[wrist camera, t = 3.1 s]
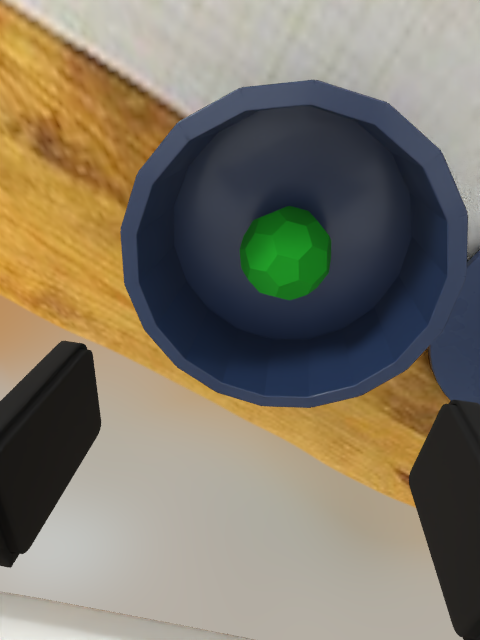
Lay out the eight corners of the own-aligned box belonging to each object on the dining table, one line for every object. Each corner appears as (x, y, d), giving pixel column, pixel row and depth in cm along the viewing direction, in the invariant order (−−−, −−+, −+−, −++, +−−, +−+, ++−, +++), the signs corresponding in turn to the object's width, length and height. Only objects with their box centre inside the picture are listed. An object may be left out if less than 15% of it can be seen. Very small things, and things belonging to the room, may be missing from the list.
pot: (470, 103, 18) (542, 102, 13) (380, 362, 26) (401, 429, 21) (161, 72, 20) (107, 59, 14) (165, 328, 28) (131, 384, 22)
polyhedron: (345, 247, 22) (356, 278, 18) (280, 293, 24) (276, 331, 20) (293, 179, 21) (292, 197, 17) (229, 234, 23) (214, 262, 19)
